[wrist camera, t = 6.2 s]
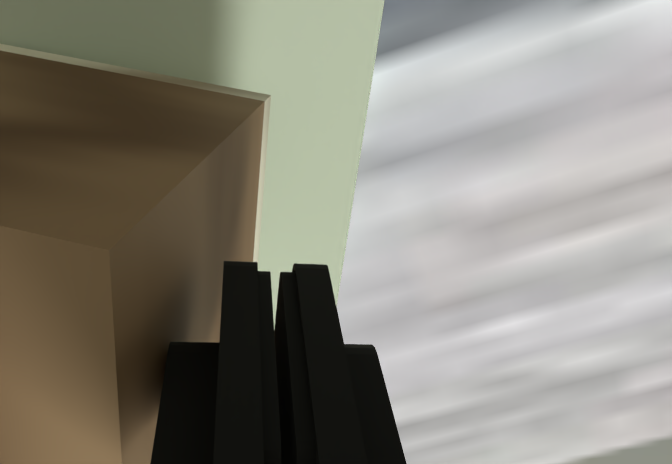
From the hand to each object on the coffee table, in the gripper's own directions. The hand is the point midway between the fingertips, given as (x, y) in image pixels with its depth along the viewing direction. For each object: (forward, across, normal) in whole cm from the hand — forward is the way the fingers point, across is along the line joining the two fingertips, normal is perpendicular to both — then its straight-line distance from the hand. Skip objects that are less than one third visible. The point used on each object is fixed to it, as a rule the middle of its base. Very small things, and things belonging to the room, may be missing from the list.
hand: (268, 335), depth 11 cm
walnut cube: (+4, +3, 0) cm, 5 cm away
